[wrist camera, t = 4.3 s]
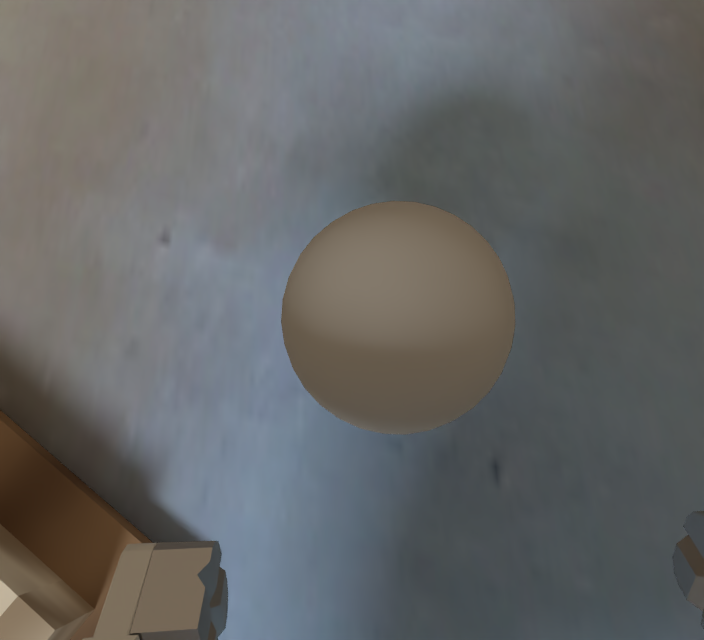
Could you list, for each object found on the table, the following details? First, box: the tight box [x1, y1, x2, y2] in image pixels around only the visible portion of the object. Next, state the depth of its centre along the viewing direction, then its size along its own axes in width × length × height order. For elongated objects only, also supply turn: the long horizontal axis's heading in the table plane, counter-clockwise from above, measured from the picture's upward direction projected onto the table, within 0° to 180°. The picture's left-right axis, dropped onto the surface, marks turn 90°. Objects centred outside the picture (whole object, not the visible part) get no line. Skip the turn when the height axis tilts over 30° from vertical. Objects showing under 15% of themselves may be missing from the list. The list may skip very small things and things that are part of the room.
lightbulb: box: [281, 201, 515, 435], centre depth 18 cm, size 6×6×11 cm
